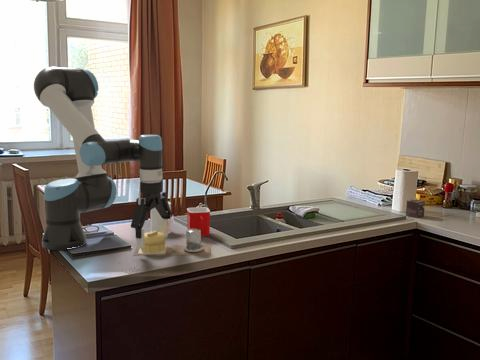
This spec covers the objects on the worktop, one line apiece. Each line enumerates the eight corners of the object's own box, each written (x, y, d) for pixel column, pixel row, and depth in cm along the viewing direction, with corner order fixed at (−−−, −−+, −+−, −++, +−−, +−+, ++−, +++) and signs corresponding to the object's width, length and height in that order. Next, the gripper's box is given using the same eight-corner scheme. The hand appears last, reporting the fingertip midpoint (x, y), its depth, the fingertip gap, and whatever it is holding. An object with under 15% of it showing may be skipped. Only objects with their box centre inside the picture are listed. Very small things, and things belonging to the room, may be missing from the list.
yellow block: (155, 254, 159) (155, 236, 158) (136, 250, 162) (135, 233, 161) (169, 247, 166) (168, 230, 165) (150, 244, 169) (149, 228, 168)
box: (417, 218, 217) (418, 202, 216) (405, 215, 222) (406, 200, 221) (424, 216, 221) (425, 200, 220) (412, 213, 226) (413, 198, 224)
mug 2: (186, 234, 188) (186, 208, 186) (206, 232, 190) (206, 207, 188) (191, 243, 176) (191, 215, 174) (213, 241, 178) (213, 214, 177)
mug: (174, 236, 184) (174, 206, 182) (152, 238, 182) (151, 207, 180) (170, 228, 195) (169, 200, 193) (149, 230, 193) (148, 201, 191)
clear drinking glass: (183, 253, 161) (182, 233, 160) (183, 246, 168) (183, 228, 167) (203, 252, 162) (203, 233, 161) (203, 246, 169) (203, 227, 168)
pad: (137, 254, 159) (137, 253, 159) (141, 246, 168) (141, 245, 168) (165, 254, 160) (165, 253, 160) (166, 246, 169) (166, 244, 169)
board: (133, 259, 158) (132, 255, 158) (137, 248, 169) (137, 245, 169) (211, 257, 160) (211, 254, 160) (210, 247, 171) (210, 244, 171)
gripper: (137, 188, 147) (139, 253, 151) (180, 176, 169) (181, 234, 173) (118, 186, 150) (120, 250, 154) (163, 174, 172) (164, 231, 176)
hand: (152, 241), depth 163 cm, fingers open, 13 cm apart
